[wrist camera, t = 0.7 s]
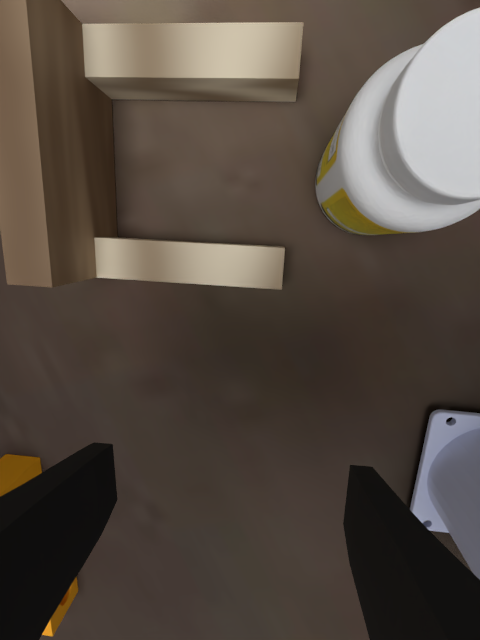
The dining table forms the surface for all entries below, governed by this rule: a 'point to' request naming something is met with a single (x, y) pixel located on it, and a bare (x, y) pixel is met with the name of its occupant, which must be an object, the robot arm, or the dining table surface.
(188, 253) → the can dock
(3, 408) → the dining table surface
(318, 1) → the dining table surface
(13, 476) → the pipe clamp
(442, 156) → the supplement bottle
